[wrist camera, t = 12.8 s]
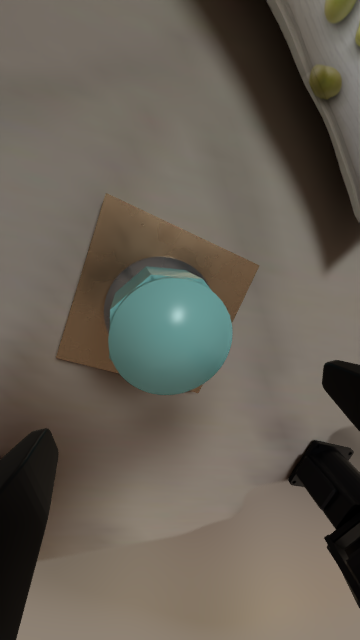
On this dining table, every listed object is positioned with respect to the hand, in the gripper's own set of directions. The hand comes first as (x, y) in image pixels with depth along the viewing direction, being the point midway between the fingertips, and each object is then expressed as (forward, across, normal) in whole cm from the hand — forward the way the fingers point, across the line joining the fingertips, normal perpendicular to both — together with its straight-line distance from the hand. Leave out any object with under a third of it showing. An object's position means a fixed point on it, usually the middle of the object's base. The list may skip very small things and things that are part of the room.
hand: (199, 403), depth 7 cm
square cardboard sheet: (+12, 0, 0) cm, 12 cm away
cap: (+10, 0, 0) cm, 10 cm away
